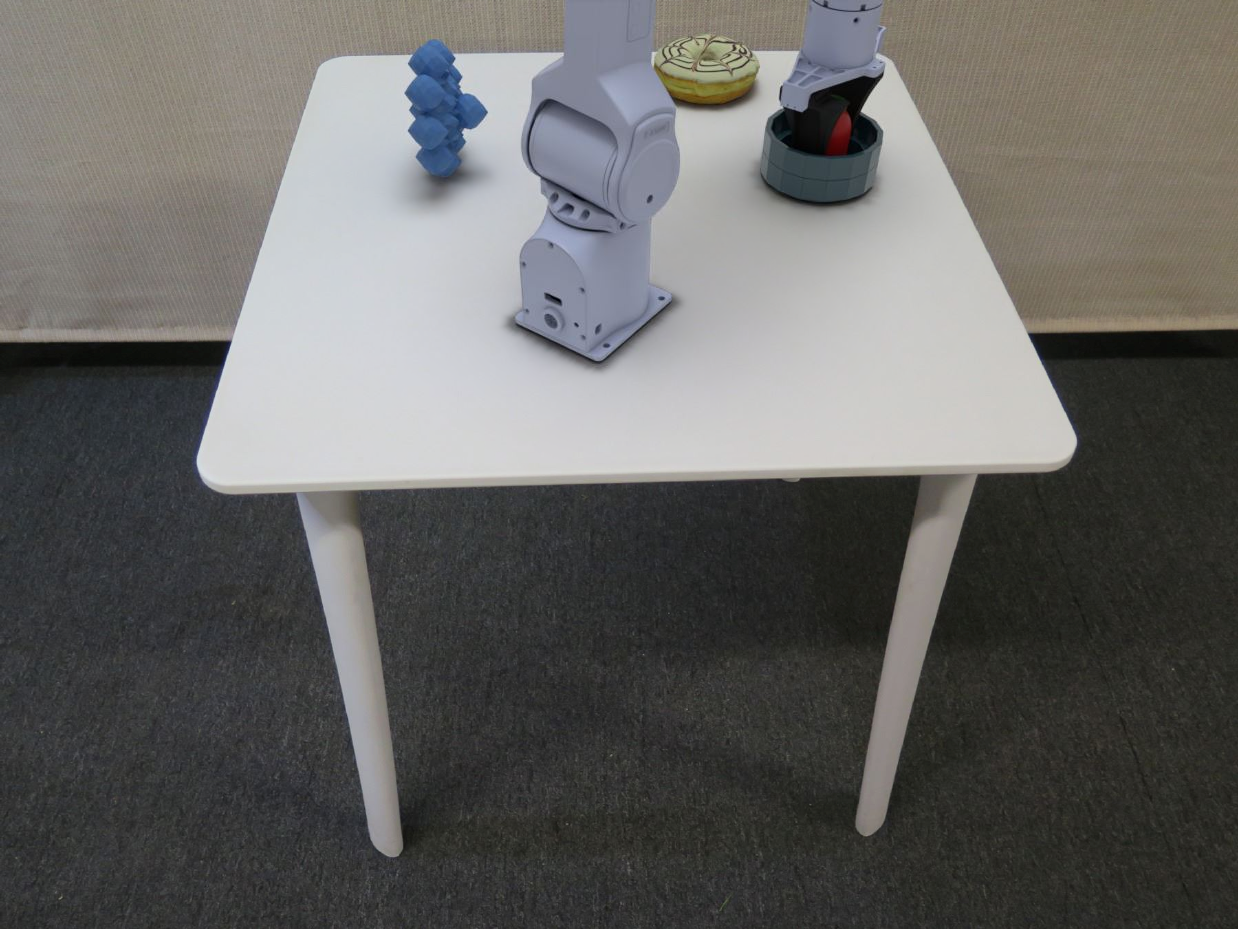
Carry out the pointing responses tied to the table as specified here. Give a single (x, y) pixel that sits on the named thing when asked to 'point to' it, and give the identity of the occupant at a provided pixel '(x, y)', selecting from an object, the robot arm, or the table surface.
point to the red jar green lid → (840, 134)
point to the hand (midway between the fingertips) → (819, 157)
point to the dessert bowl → (820, 162)
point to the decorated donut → (706, 68)
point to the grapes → (440, 108)
